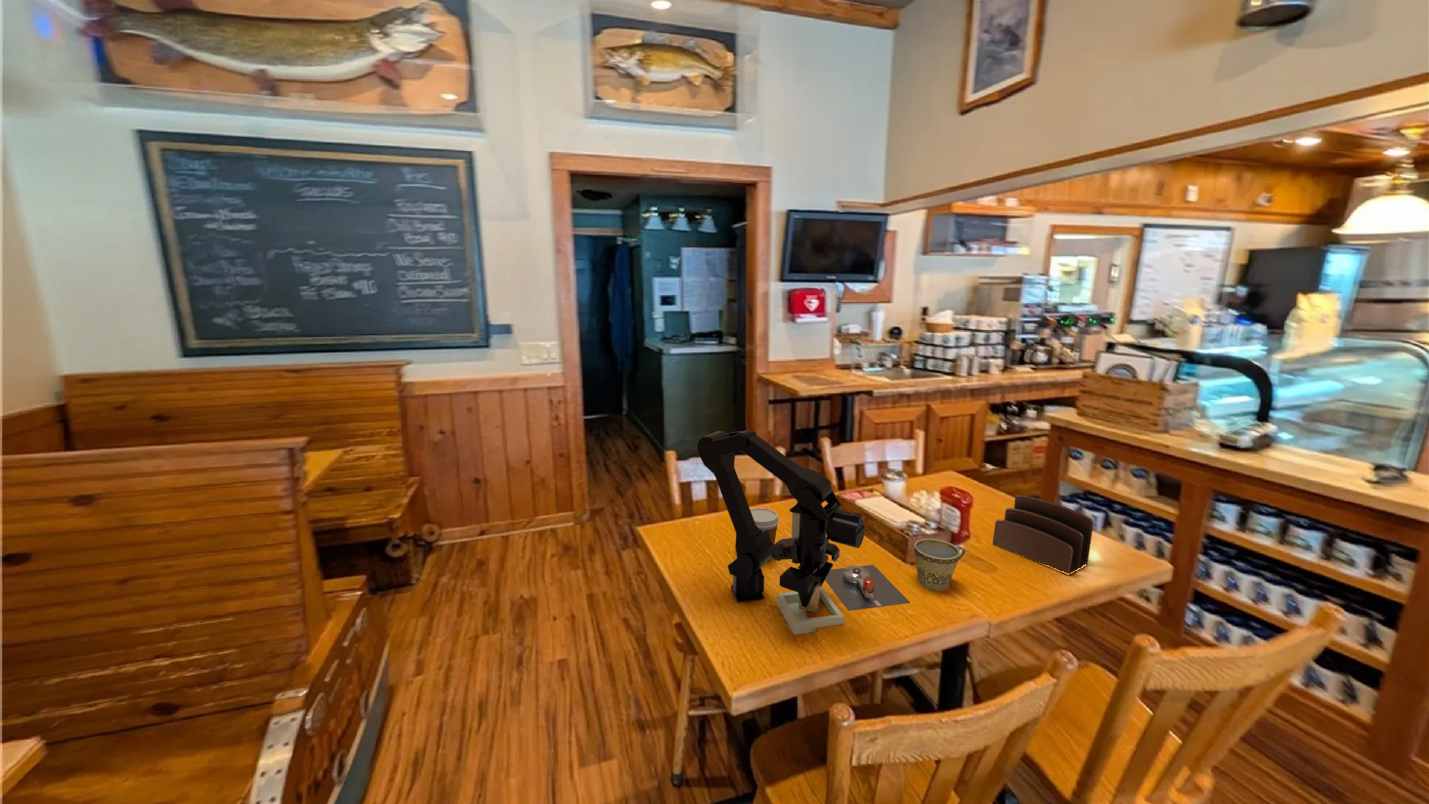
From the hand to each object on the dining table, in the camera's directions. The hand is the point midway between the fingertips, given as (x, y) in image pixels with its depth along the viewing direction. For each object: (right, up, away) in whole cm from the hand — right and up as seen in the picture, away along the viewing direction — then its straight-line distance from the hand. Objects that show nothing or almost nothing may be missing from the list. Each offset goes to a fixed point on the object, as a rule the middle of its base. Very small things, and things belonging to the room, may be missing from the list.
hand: (809, 600), depth 115 cm
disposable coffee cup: (-8, +2, +26) cm, 27 cm away
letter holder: (+66, +2, +27) cm, 72 cm away
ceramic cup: (+33, -1, +12) cm, 36 cm away
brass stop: (0, -1, 0) cm, 1 cm away
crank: (+14, 0, +10) cm, 17 cm away
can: (+5, +3, +31) cm, 31 cm away
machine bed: (+14, -1, +11) cm, 18 cm away
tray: (0, -3, +1) cm, 4 cm away
